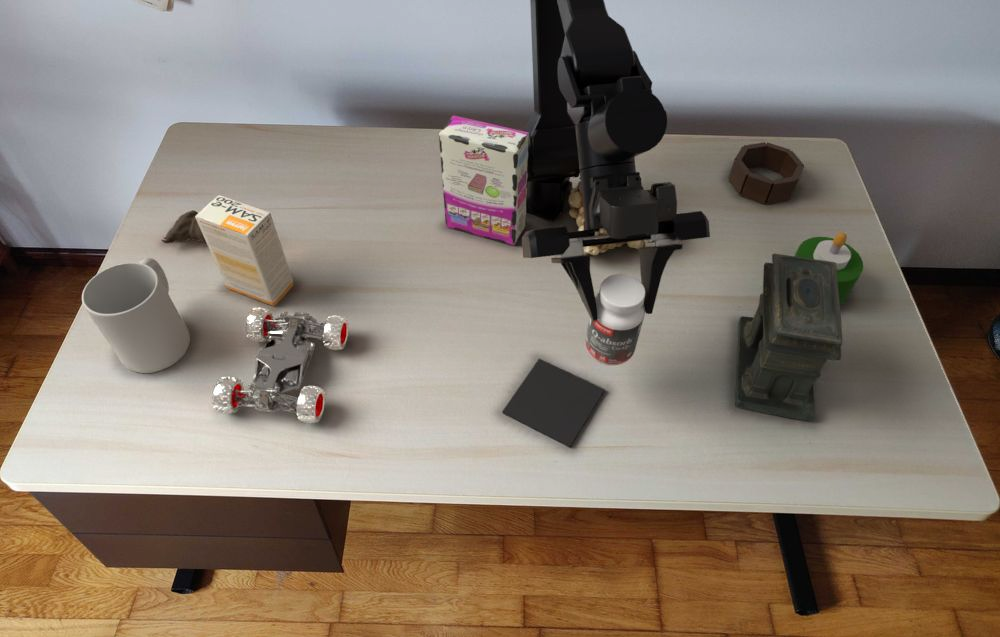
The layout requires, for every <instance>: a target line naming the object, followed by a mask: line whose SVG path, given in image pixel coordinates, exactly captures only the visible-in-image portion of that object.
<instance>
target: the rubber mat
mask: <svg viewBox="0 0 1000 637" xmlns="http://www.w3.org/2000/svg"><path fill="white" fill-rule="evenodd" d="M604 393H605V388H603V387H601V386H599V385H597V384H594V383H592V382H590V381H588V380H586V379H584V378H582V377H579V376H577V375H575V374H573V373H571V372H569V371H567V370H565V369H563V368H560V367H558V366H556V365H554V364H552V363H550V362H548V361H545V360H543V359H542V358H538V359H537V360H536V362H535V364H533V367H532V368H531V369H530V371H529V372H528V374H527V375H526V377H525V378H524V379H523V381H522V382H521V383H520V385H519V387H517V390H516V391H515V392H514V394H513V395H512V396H511V398H510V399H509V401H508V403H507V404H506V405H505V407H504V408H503V410H502V415H505V416H507V417H509V418H511V419H513V420H514V421H516V422H519V423H520V424H522V425H524V426H527V427H528V428H530V429H533V430H534V431H537V432H538V433H540V434H542V435H544V436H546V437H548V438H550V439H552V440H554V441H556V442H558V443H559V444H561V445H564V446H565V447H568V448H570V449H571V448H572V446H573V445H574V443H575V441H576V439H577V438H578V437H579V435H580V433H581V431H582V430H583V428H584V426H585V425H586V423H587V421H588V419H589V418H590V417H591V415H592V413H593V411H594V410H595V408H596V406H597V405H598V403H599V401H600V400H601V398H602V396H603V394H604Z"/></svg>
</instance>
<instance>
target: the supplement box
mask: <svg viewBox="0 0 1000 637" xmlns="http://www.w3.org/2000/svg"><path fill="white" fill-rule="evenodd" d="M197 213H198V214H197V215H196V216H195V218H196V220H197V222H198V225H199V227H200V229H201V231H202V234H203V236H204V238H205V240H206V242H205V243H206V245H207V247H208V250H209V251H210V253H211V256H212V258H213V260H214V263H215V264H216V267H217V269H218V271H219V274H220V276H221V278H222V281H223V283H224V285H225V287H226V288H227V290H230V291H233V292H235V293H238V294H241V295H243V296H246V297H249V298H251V299H253V300H257V301H259V302H262V303H264V304H267V305H270V306H273V307H276V306H277V305H278V303H279V302H280V301H281V300H282V299H283V298H284V297H285V296H286V295H287V293H288V292H289V291H290V290H291V289H292V288H293V287H294V285H295V282H294V279H293V276H292V272H291V270H290V267H289V264H288V262H287V258H286V255H285V252H284V250H283V246H282V244H281V240H280V239H279V234H278V231H277V229H276V228H277V227H276V225H275V222H274V219H273V217H272V214H271V212H270V211H267V210H264V209H261V208H258V207H255V206H252V205H249V204H247V203H243V202H241V201H239V200H235V199H232V198H229V197H226V196H223V195H221V194H219V195H217V196H216V197H215V198H213V199H212V200H211V201H210V202H209V203H208V204H207V205H206V206H204V207H203V208H202V209H201V210H200V211H199V212H197Z"/></svg>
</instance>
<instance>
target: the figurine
mask: <svg viewBox="0 0 1000 637" xmlns="http://www.w3.org/2000/svg"><path fill="white" fill-rule="evenodd" d="M198 213H199V212H197V211H196V210H195V209H194V210H190V211H187V212H185V213H183V214H181V215H180V216H179V217H178V218H177V220H176V221H175V222H174V224H173V226H172V227H171V228H170V229H169V230H168V231H167V233H166V235H165V236H164V237H163V239H161V242H162V243H164V244H172V243H173V244H174V243H175V242H187V241H189V240H190V241H192V240H193V241H199V242H203V243H207V242H206V240H205V238H204V236H203V234H202V231H201V229H200V227H199V225H198V222H197V220H196V218H195V216H196V215H197V214H198Z"/></svg>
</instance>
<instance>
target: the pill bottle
mask: <svg viewBox="0 0 1000 637" xmlns="http://www.w3.org/2000/svg"><path fill="white" fill-rule="evenodd" d="M644 298H645V289H644V286H643V285H642V283H641V280H638V279H637V278H636V277H634V276H632V275H629V274H625V273H624V274H623V273H616V274H611V275H609V276H607V277H606V278H604V279H603V281H602V282H601V284H600V287H599V291H598V293H596V295H595V300H596V305H597V321H593V320H591V318H590V317H589V319H588V324H587V328H586V329H587V330H586V336H585V344H584V345H585V349H586V351H587V353H588V355H589V356H590V357H591V358H592V359H593V360H595V361H596V362H598V363H600V364H602V365H605V366H619V365H623V364H625V363H627V362H628V361H630V360H631V358H633V356H634V354H635V351H636V349H637V346H638V345H637V344H638V340H639V338H640V335H641V334H640V333H641V331H642V327H643V323H644V320H645V315H646V312H645V306H644Z"/></svg>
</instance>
